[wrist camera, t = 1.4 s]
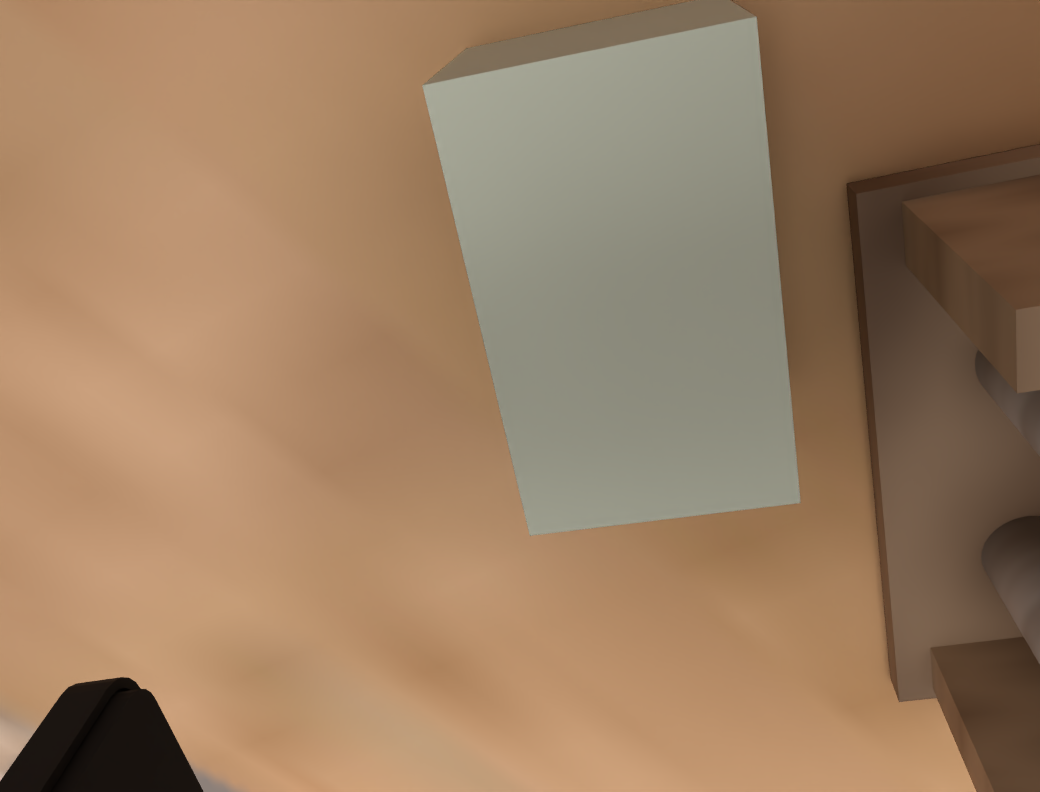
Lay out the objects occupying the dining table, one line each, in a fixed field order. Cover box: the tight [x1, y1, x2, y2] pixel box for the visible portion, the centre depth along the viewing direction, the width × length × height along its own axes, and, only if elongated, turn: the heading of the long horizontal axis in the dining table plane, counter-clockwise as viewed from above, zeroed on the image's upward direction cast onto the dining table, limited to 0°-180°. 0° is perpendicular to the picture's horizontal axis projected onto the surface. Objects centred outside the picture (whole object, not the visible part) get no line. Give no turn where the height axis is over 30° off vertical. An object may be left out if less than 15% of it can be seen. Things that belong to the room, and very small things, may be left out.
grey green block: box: [422, 0, 801, 536], centre depth 22 cm, size 6×10×6 cm, turn 12°
